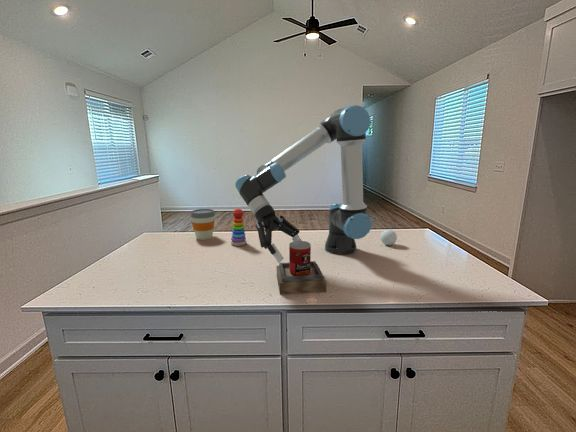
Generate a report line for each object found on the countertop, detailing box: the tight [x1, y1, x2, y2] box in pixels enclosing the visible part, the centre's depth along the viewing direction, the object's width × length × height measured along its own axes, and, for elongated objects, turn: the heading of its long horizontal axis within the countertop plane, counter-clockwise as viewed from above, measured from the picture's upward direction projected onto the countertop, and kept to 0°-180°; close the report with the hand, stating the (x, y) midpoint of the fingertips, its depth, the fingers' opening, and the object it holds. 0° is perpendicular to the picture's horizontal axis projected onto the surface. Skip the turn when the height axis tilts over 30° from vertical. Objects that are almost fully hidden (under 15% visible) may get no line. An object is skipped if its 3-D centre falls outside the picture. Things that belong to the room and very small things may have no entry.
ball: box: [380, 229, 398, 246], centre depth 154 cm, size 8×8×8 cm
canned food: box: [288, 240, 312, 276], centre depth 110 cm, size 8×8×11 cm
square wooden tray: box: [276, 260, 327, 295], centre depth 111 cm, size 16×16×6 cm
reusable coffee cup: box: [190, 208, 215, 240], centre depth 169 cm, size 13×13×15 cm
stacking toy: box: [230, 208, 247, 247], centre depth 156 cm, size 8×8×19 cm
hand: (293, 255), depth 111 cm, fingers open, 13 cm apart
